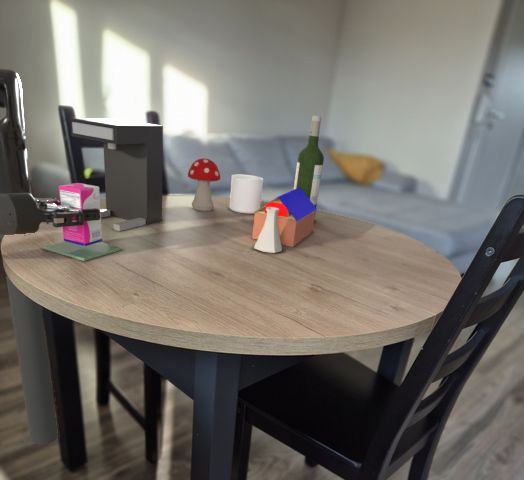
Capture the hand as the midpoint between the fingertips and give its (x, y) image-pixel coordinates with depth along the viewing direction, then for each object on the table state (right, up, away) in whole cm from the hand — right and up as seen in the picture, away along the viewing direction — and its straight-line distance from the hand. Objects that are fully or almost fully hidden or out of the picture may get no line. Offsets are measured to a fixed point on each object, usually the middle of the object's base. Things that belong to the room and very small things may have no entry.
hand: (90, 209), depth 101 cm
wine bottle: (+49, +12, +53) cm, 73 cm away
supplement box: (-2, -6, +2) cm, 7 cm away
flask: (+38, -5, +18) cm, 42 cm away
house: (+42, +2, +32) cm, 53 cm away
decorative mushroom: (+17, +15, +50) cm, 55 cm away
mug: (+31, +17, +57) cm, 67 cm away
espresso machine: (-2, +5, +27) cm, 28 cm away
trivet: (-2, -8, +3) cm, 9 cm away
